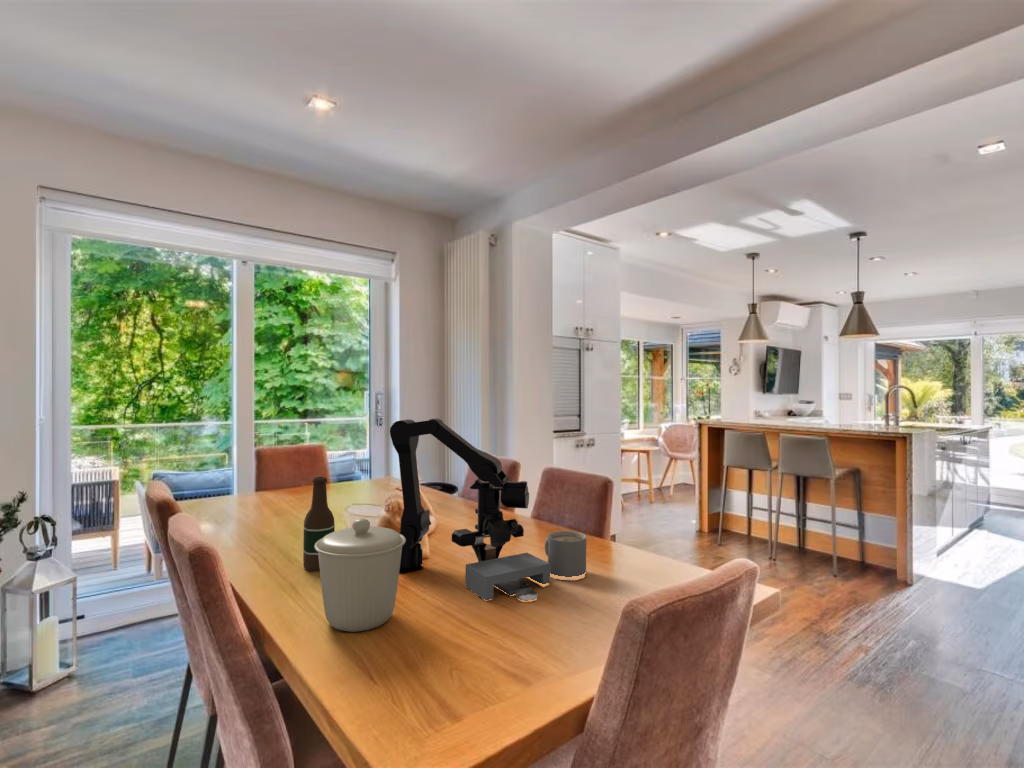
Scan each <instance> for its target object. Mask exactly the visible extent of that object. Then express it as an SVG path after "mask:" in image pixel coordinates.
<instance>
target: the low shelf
mask: <svg viewBox="0 0 1024 768" xmlns="http://www.w3.org/2000/svg"><path fill="white" fill-rule="evenodd" d="M464 576H465V584H464V585H465V586H466V587H467V588H469V589H470V590H472V591H473V592H474V593H476V594H477V595H479V596H480V597H481V598H483V599H485V600H489V599H493V600H494V586H493V585H494V584H497V583H502V582H506V581H511V580H515V579H519V580H520V579H524V578H525V577H530V578H531V579H533V580H535V581H537V582H539V583H542V584H546V583H549V582H550V581H551V580H550V579H551V577H550V563H548V561H546V560H545V559H544V560H543V559H541V558H539V557H537V556H535V555H533V554H531V553H529V552H524V553H518V554H513V555H507V556H503V557H498V558H496V559H491V560H486V561H481V562H478V561H477V562H473V563H466V564H465V575H464ZM550 583H551V582H550ZM466 587H465V588H466ZM467 588H466V589H467ZM469 589H468V590H469ZM470 590H469V591H470ZM473 592H472V593H473ZM474 593H473V594H474ZM476 594H475V595H476ZM477 595H476V596H477ZM479 596H478V597H479ZM480 597H479V598H480ZM481 598H480V599H481ZM483 599H482V600H483Z"/></svg>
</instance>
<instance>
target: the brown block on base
mask: <svg viewBox="0 0 1024 768" xmlns="http://www.w3.org/2000/svg"><path fill="white" fill-rule="evenodd" d="M486 544H487V545H486V547H485V549H484V554H485V561H486V560H491V559H496V548H495V547H493V546H491V544H490V543H486ZM477 562H479V561H478V560H477ZM494 586H496V587H498V588H499V589H501V590H503V591H504V592H506V593H507V594H509V595H513V594H516V592H518V591H520V590H531V589H532V586H531V585H530V584H528V583H525V582H524V581H522V580H520V579H515V580H511V581H506V582H502V583H497V584H494ZM494 586H493V587H494Z"/></svg>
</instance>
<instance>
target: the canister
mask: <svg viewBox="0 0 1024 768" xmlns="http://www.w3.org/2000/svg"><path fill="white" fill-rule="evenodd" d="M351 525H352V527H349V528H342V529H338V530H335V532H332V533H330V534H327V535H326V536H324V537H323V538H322V539H320V540H318V541H317V542H316V543H315V546H314V547H315V550H316V551H317V552H318V556H319V567H320V571H319V575H320V586H321V593H322V601H323V609H324V615H325V618H326V621H327V622H328V624H329V625H330V626H331V627H333V628H334V629H336V630H338V631H344V632H353V633H354V632H364V631H369V630H372V629H375V628H377V627H380V626H381V625H383V624H384V625H385V623H386V622H388V620H389V619H390V618H391V617H392V615H393V613H394V610H395V606H396V598H397V595H398V594H397V592H398V586H399V577H400V573H399V570H400V562H401V553H402V546H403V545H404V544H405V541H406V539H405V537H404V536H403V535H401V534H399V533H400V532H398V531H396V530H394V529H392V528H389V527H383V526H371V522H370V521H369V519H367V518H365V517H363V518H357V519H356V520H354V521H353V522H352V524H351Z"/></svg>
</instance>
